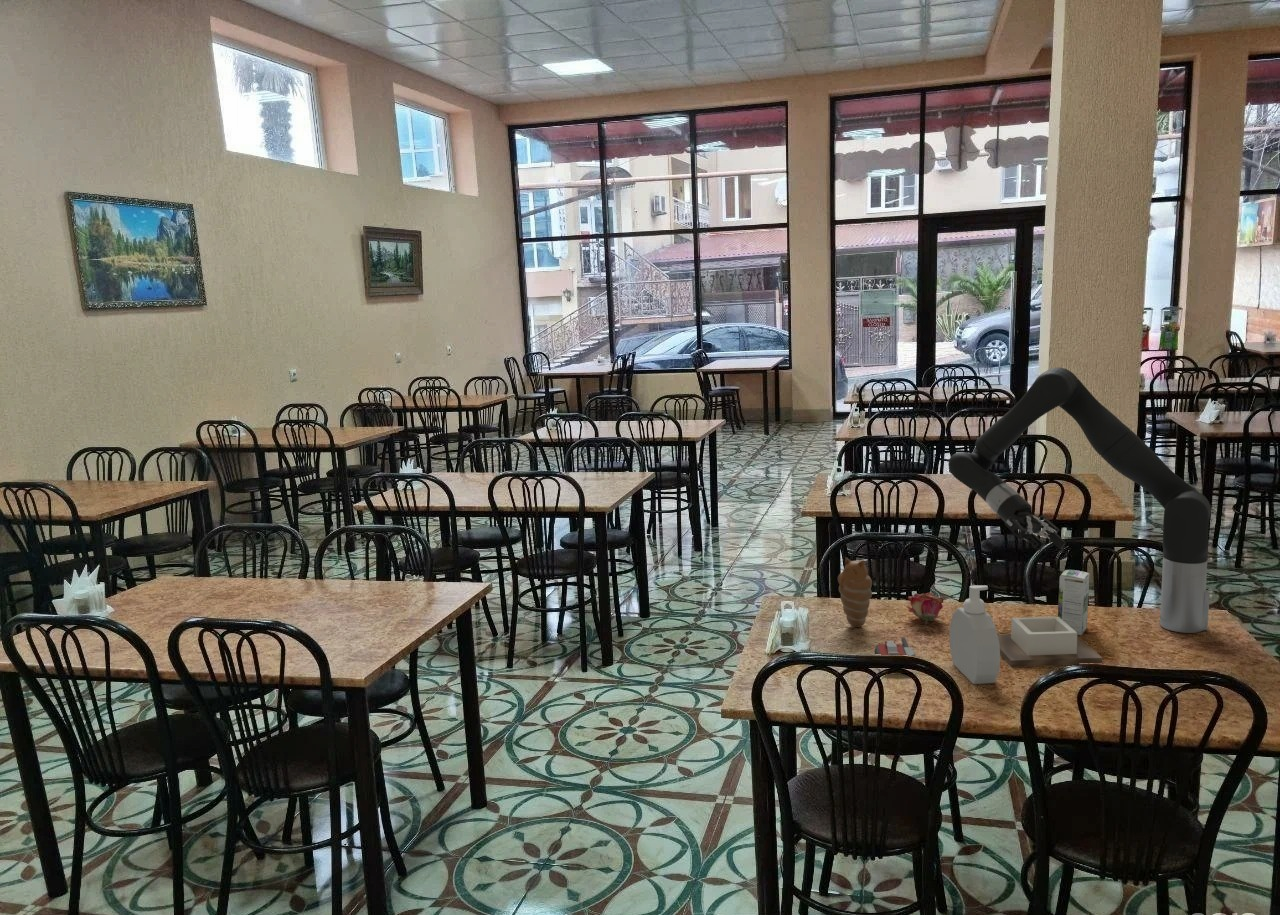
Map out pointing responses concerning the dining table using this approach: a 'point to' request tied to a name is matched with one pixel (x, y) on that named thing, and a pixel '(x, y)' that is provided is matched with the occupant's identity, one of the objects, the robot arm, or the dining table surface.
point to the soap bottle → (975, 640)
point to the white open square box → (1043, 636)
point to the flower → (925, 606)
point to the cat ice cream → (855, 591)
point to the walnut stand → (1020, 658)
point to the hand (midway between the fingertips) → (1052, 546)
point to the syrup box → (1074, 599)
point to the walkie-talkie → (894, 648)
